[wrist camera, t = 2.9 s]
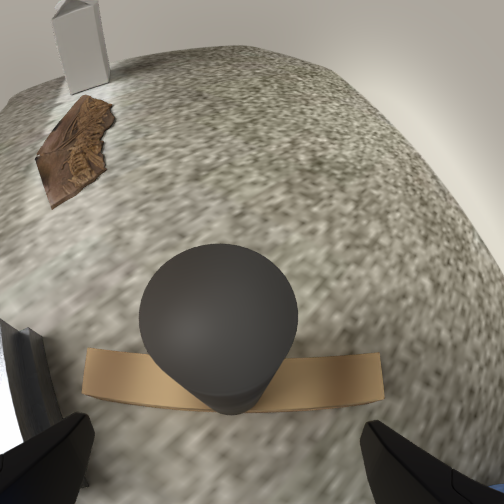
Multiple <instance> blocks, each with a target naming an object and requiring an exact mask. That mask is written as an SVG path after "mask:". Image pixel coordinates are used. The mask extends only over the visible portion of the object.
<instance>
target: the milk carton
mask: <svg viewBox="0 0 504 504" xmlns="http://www.w3.org/2000/svg"><path fill="white" fill-rule="evenodd" d="M55 9H57V10H58V11H57V13H56V14H55V16H54V17H53V18H52V20H51V23H52V28H53V33H54V37H55V41H56V45H57V49H58V53H59V57H60V61H61V64H62V68H63V71H64V75H65V79H66V82H67V85H68V89H69V92H70V95H72V94H75V93H77V92H80V91H83V90H86V89H89V88H92V87H95V86H98V85H102V84H105V83H108V82H109V76H110V65H109V60H108V56H107V51H106V45H105V40H104V35H103V29H102V23H101V17H100V11H99V4H98V0H60V1H59V2H58V4H57V5H56V7H55Z"/></svg>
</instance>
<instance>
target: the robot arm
mask: <svg viewBox="0 0 504 504" xmlns="http://www.w3.org/2000/svg"><path fill="white" fill-rule="evenodd" d="M94 437H95V432H94V428H93V426H92V423H91V421H90V418H89V416H88V415H87V414H85V413H81V412H75V413H73V414H71V415H70V416H68V417H66V418H65V419H63V420H61V421H60V422H58V423H56V424H54V425H53V426H51V427H49V428H47V429H46V430H44V431H42V432H40V433H39V434H37V435H35V436H33V437H32V438H30V439H28V440H26V441H24V442H23V443H21V444H19V445H17V446H15V447H14V448H12V449H10V450H8V451H6V452H4V454H3V453H2V454H0V504H75V502H76V499H77V496H78V493H79V490H80V487H81V484H82V482H83V479H84V476H85V473H86V470H87V466H88V461H89V457H90V453H91V449H92V445H93V441H94ZM360 446H361V451H362V455H363V460H364V465H365V469H366V474H367V479H368V482H369V485H370V488H371V491H372V494H373V497H374V500H375V503H376V504H504V493H503V492H500V491H498V490H495V489H493V488H491V487H488V486H486V485H483V484H481V483H479V482H477V481H475V480H473V479H471V478H469V477H467V476H465V475H463V474H462V473H460V472H458V471H457V470H455V469H452V468H451V467H450V466H448V465H447V464H445V463H443V462H442V461H440V460H438V459H437V458H435V457H434V456H432V455H431V454H429V453H427V452H426V451H424V450H423V449H421V448H420V447H418V446H417V445H415V444H413V443H412V442H410V441H409V440H407V439H406V438H404V437H403V436H401V435H400V434H398V433H397V432H395V431H394V430H392V429H391V428H389V427H388V426H386V425H385V424H384V423H382V422H381V421H379V420H374V421H368V422H366V424H365V426H364V429H363V432H362V435H361V438H360Z"/></svg>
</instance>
